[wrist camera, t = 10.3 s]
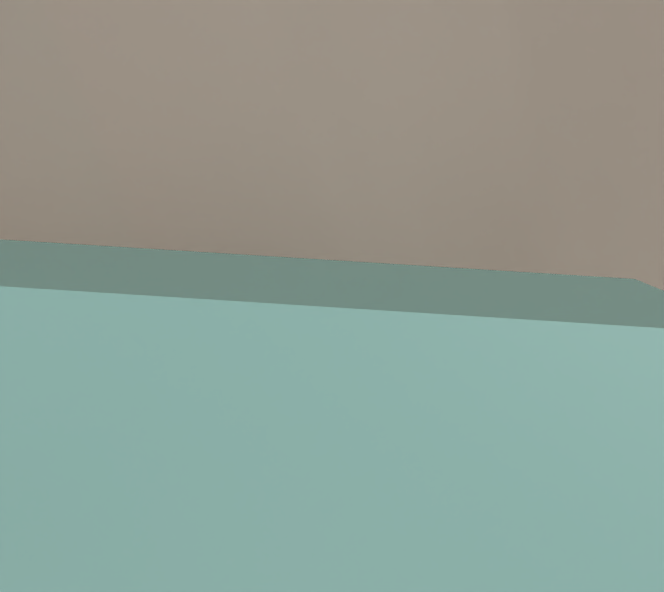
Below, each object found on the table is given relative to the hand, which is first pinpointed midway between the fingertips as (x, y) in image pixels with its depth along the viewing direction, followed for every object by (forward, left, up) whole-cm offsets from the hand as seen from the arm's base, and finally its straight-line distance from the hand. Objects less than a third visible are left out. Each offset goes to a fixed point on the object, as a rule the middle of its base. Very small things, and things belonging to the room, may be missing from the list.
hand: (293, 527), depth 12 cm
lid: (0, 0, +1) cm, 1 cm away
